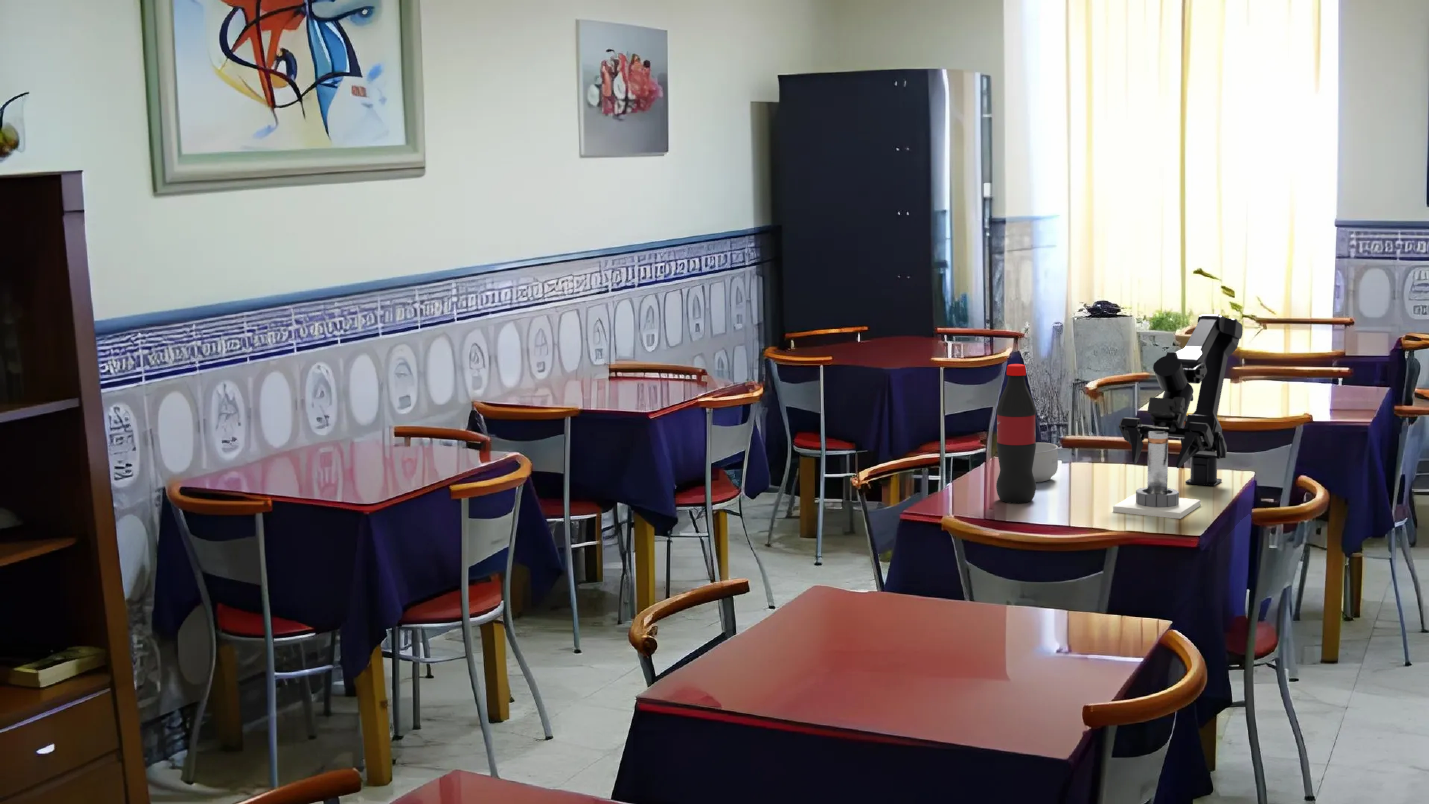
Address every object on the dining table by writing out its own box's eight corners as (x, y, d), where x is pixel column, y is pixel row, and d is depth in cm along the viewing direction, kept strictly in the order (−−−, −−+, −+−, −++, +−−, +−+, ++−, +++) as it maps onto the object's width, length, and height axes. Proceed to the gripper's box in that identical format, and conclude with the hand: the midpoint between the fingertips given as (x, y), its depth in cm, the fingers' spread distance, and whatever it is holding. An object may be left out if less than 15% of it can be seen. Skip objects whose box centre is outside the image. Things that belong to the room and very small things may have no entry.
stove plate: (1135, 498, 315) (1135, 482, 315) (1200, 505, 307) (1200, 488, 307) (1113, 511, 304) (1113, 494, 303) (1180, 518, 296) (1180, 501, 296)
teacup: (1062, 484, 333) (1062, 449, 332) (1014, 485, 333) (1014, 450, 332) (1049, 472, 347) (1049, 439, 346) (1004, 473, 347) (1004, 440, 346)
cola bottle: (1033, 496, 321) (1033, 361, 316) (1038, 504, 313) (1038, 366, 308) (994, 496, 322) (994, 362, 317) (998, 505, 313) (998, 367, 309)
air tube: (1145, 500, 308) (1146, 431, 306) (1165, 500, 307) (1166, 430, 305) (1148, 505, 304) (1149, 434, 302) (1169, 505, 303) (1169, 434, 301)
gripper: (1122, 379, 310) (1102, 438, 303) (1210, 384, 299) (1191, 446, 292) (1135, 411, 318) (1115, 469, 311) (1221, 417, 307) (1203, 477, 300)
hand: (1155, 465), depth 303 cm, fingers open, 9 cm apart
